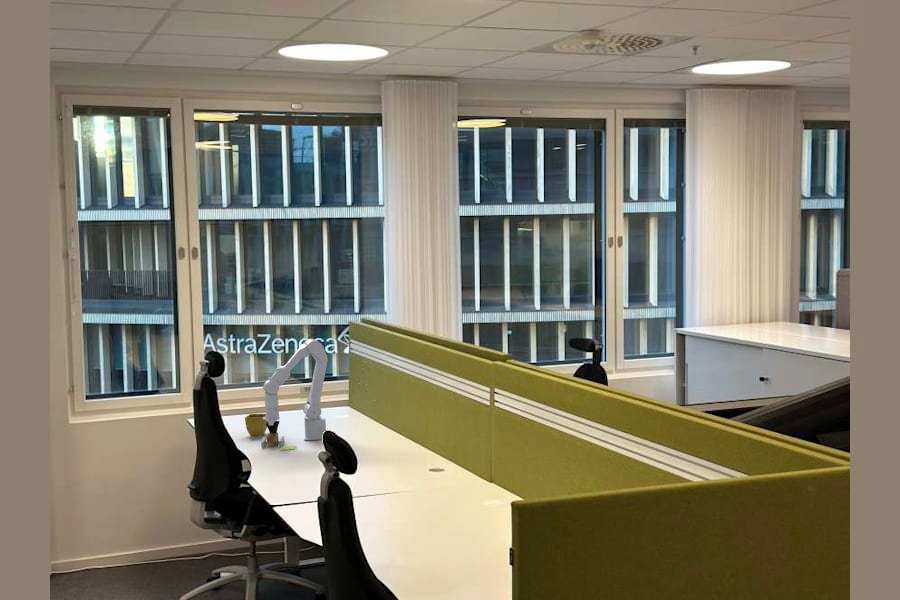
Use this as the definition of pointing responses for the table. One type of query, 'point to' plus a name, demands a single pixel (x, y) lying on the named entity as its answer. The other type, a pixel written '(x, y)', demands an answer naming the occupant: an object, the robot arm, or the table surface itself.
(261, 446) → the goalpost shaped bracket
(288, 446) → the coaster
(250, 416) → the flower pot
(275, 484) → the table surface
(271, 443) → the block
